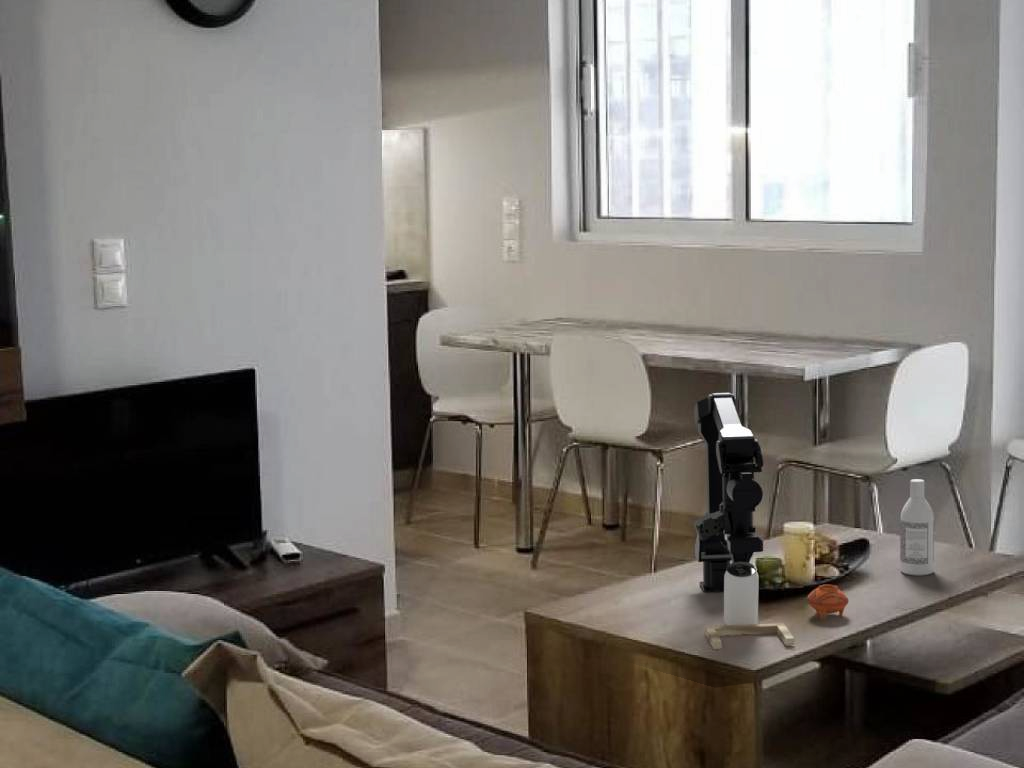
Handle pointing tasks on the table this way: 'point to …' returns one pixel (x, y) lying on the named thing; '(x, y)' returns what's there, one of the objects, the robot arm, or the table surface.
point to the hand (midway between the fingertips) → (739, 578)
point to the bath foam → (917, 533)
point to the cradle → (747, 632)
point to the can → (741, 594)
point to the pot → (827, 600)
